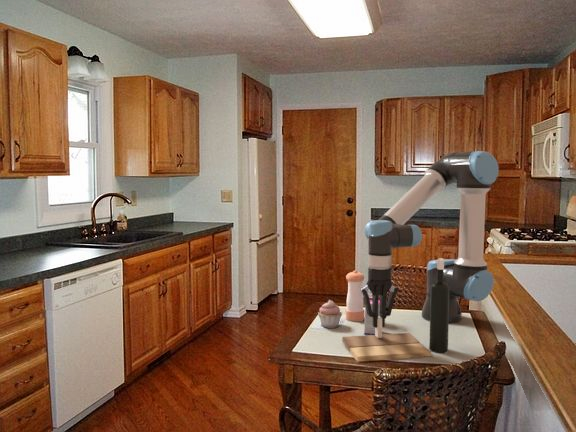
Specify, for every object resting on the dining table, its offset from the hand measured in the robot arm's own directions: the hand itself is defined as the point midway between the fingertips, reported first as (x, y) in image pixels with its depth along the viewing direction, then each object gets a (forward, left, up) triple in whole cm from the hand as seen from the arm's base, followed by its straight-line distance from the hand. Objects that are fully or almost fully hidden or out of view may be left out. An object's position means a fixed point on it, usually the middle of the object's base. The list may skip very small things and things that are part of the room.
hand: (378, 336), depth 173 cm
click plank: (0, +1, -2) cm, 3 cm away
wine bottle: (-17, +9, -3) cm, 20 cm away
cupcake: (+11, -23, -3) cm, 25 cm away
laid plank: (0, +10, -3) cm, 10 cm away
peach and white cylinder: (-1, -30, -3) cm, 30 cm away
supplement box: (-2, -12, -3) cm, 12 cm away
